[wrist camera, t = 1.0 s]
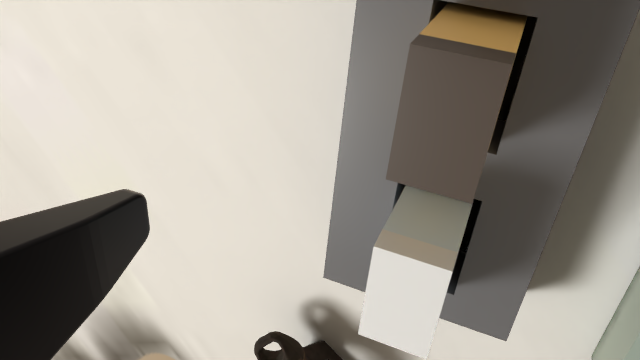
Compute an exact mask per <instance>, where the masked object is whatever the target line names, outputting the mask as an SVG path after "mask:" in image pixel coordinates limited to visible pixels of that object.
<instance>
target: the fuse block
mask: <svg viewBox="0 0 640 360" xmlns="http://www.w3.org/2000/svg"><path fill="white" fill-rule="evenodd" d="M447 1H448V2H453V3H459V4H465V5H470V6H476V7H482V8H487V9H493V10H498V11H504V12H510V13H515V14H521V15H527V16H532V17H537V18H536V21H535V25H534V28H533V31H532V35H531V38H530V41H529V45H528V48H527V51H526V54H525V58H524V61H523V64H522V68H521V71H520V74H519V78H518V81H517V84H516V88H515V91H514V94H513V98H512V101H511V104H510V107H509V111H508V114H507V117H506V121H502V120H497V122H496V126H495V129H494V132H493V136H492V139H491V142H490V146H489V149H488V152H487V156H486V159H485V163H484V166H483V169H482V173H481V176H480V179H479V183H478V186H477V189H476V193H475V196H474V199H477V200H480V201H481V204H480V207H479V210H478V214H477V217H476V220H475V223H474V227H473V230H472V233H471V237H470V240H469V243H468V247H467V250H466V252H463V251H460V250H459V252H458V256H457V259H456V263H455V266H454V269H453V273H452V276H451V279H450V283H449V286H448V290H447V293H446V296H445V300H444V303H443V307H442V310H441V313H440V317H439V318H441V319H444V320H447V321H450V322H452V323H455V324H458V325H461V326H464V327H467V328H470V329H472V330H475V331H478V332H481V333H484V334H487V335H490V336H493V337H495V338H498V339H501V340H504V341H507V338H508V336H509V333H510V331H511V328H512V326H513V323H514V321H515V318H516V316H517V313H518V311H519V308H520V306H521V303H522V301H523V298H524V296H525V293H526V291H527V288H528V286H529V283H530V281H531V278H532V276H533V273H534V271H535V268H536V266H537V263H538V261H539V258H540V256H541V253H542V251H543V248H544V246H545V243H546V241H547V238H548V236H549V233H550V231H551V228H552V226H553V223H554V221H555V218H556V216H557V213H558V211H559V208H560V206H561V203H562V201H563V198H564V196H565V193H566V191H567V188H568V186H569V183H570V181H571V178H572V176H573V173H574V171H575V168H576V166H577V163H578V161H579V158H580V156H581V153H582V151H583V148H584V146H585V143H586V141H587V139H588V136H589V134H590V131H591V129H592V126H593V124H594V121H595V119H596V116H597V114H598V111H599V109H600V106H601V104H602V101H603V99H604V96H605V94H606V91H607V89H608V86H609V84H610V81H611V79H612V76H613V74H614V71H615V69H616V66H617V64H618V61H619V59H620V56H621V54H622V51H623V49H624V46H625V44H626V41H627V39H628V36H629V34H630V31H631V29H632V26H633V24H634V21H635V19H636V16H637V14H638V11H639V9H640V0H357V2H356V11H355V19H354V27H353V36H352V44H351V52H350V61H349V69H348V77H347V86H346V94H345V102H344V111H343V119H342V127H341V136H340V144H339V152H338V161H337V169H336V177H335V186H334V194H333V202H332V211H331V219H330V227H329V236H328V244H327V252H326V260H325V269H324V277H323V278H326V279H329V280H332V281H335V282H338V283H341V284H343V285H346V286H349V287H352V288H355V289H358V290H361V291H363V292H365V291H366V286H367V280H368V275H369V269H370V264H371V258H372V252H373V247H374V245H375V243H376V241H377V239H378V237H379V235H380V233H381V231H382V229H383V228H384V226H385V224H386V222H387V220H388V218H389V216H390V214H391V212H392V211H393V209H394V207H395V205H396V203H397V201H398V199H399V197H400V195H401V193H402V192H403V190H404V188H405V186H406V185H404V184H400V183H397V182H393V181H390V180H386V174H387V169H388V163H389V158H390V152H391V146H392V141H393V135H394V130H395V124H396V119H397V113H398V108H399V102H400V97H401V91H402V85H403V80H404V74H405V69H406V63H407V58H408V52H409V47H410V43H411V42H412V41H413V40H414V39H415V38H416V37H417V36H418V35H419V34H420V33H421V32H422V30H423V29H424V28H425V27H426V26H427V25H428V24H429V23H430V22H431V21H432V20H433V19H434V18H435V17H436V16H437V15H438V13H439V12H440V11H441V10H442V9H443V8H444V7H445V6H446V5H447Z"/></svg>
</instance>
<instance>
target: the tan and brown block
mask: <svg viewBox="0 0 640 360" xmlns="http://www.w3.org/2000/svg"><path fill="white" fill-rule="evenodd" d="M526 20H527V15H521V14H515V13H510V12H504V11H498V10H493V9H487V8H482V7H476V6H470V5H465V4H459V3H453V2H449V3H448V4H447V5H446V6H445V7H444V8H443V9H442V10H441V11H440V12H439V13H438V15H437V16H436V17H435V18H434V19H433V20H432V21H431V22H430V23H429V24H428V25H427V26H426V27H425V28H424V29H423V30H422V32H421V33H420V34H419V35H418V36H417V37H416V38H415V39H414V40H413V41H412V42H411V43H410V47H409V52H408V58H407V63H406V69H405V74H404V80H403V85H402V91H401V97H400V102H399V108H398V113H397V119H396V124H395V130H394V135H393V141H392V146H391V152H390V158H389V163H388V169H387V174H386V180H390V181H393V182H397V183H400V184H404V185H407V186H411V187H414V188H418V189H421V190H425V191H429V192H432V193H436V194H439V195H443V196H446V197H450V198H453V199H457V200H460V201H464V202H467V203H471V204H472V203H473V200H474V196H475V193H476V189H477V186H478V183H479V179H480V176H481V173H482V169H483V166H484V163H485V159H486V156H487V152H488V149H489V146H490V142H491V139H492V136H493V132H494V129H495V126H496V122H497V119H498V116H499V112H500V109H501V105H502V102H503V98H504V95H505V92H506V88H507V85H508V81H509V78H510V75H511V71H512V68H513V64H514V61H515V57H516V54H517V51H518V47H519V44H520V40H521V37H522V33H523V30H524V27H525V23H526Z"/></svg>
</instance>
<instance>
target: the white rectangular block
mask: <svg viewBox="0 0 640 360" xmlns="http://www.w3.org/2000/svg"><path fill="white" fill-rule="evenodd" d="M473 201H474V200H473ZM472 205H473V203H472V204H471V203H467V202H464V201H460V200H457V199H453V198H450V197H446V196H443V195H439V194H436V193H432V192H429V191H425V190H421V189H418V188H414V187H411V186H407V185H406V186H405V188H404V190H403V192H402V193H401V195H400V197H399V199H398V201H397V203H396V205H395V207H394V209H393V211H392V212H391V214H390V216H389V218H388V220H387V222H386V224H385V226H384V228H383V229H382V231H381V233H380V235H379V237H378V239H377V241H376V243H375V245H374V247H373V252H372V258H371V264H370V269H369V275H368V280H367V286H366V291H365V297H364V302H363V308H362V313H361V319H360V324H359V330H358V334H359V335H362V336H364V337H367V338H370V339H372V340H375V341H378V342H380V343H383V344H386V345H388V346H391V347H394V348H396V349H399V350H402V351H404V352H407V353H410V354H412V355H415V356H418V357H421V358H423V359H426V360H427V357H428V354H429V351H430V347H431V344H432V340H433V337H434V334H435V330H436V327H437V324H438V320H439V317H440V313H441V310H442V307H443V303H444V300H445V296H446V293H447V290H448V286H449V283H450V279H451V276H452V273H453V269H454V266H455V263H456V259H457V256H458V252H459V249H460V246H461V242H462V239H463V235H464V232H465V228H466V225H467V222H468V218H469V215H470V211H471V208H472Z"/></svg>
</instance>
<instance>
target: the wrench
mask: <svg viewBox="0 0 640 360" xmlns="http://www.w3.org/2000/svg"><path fill="white" fill-rule="evenodd" d="M271 342H277V343H278V344H279V345H280V346H281V348H282V349H281V350H278V351H270V350H265V349H264V348H263V347H265V346H266V345H268V344H270V343H271ZM254 352H255V355H256V357H257V359H258V360H343V359H342V358H341V357H340V356H339V355H337V354H336V352H335V351H334V350H333V349H332V348H331V347H330V346H329V345H328V344H327V343H326V342H325V341H320V342H317V343H314V344H311V345H308V346H305V347H302V346H301V345H300V343H299V342H298V341H296V340H295V339H293V338H292V337H290V336H288V335H285V334H283V333H281V332H277V331H275V332H270V333H268V334H267V335H265V336H263V337H261V338H259V339H258V341H257V342H256V343H255V347H254Z"/></svg>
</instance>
